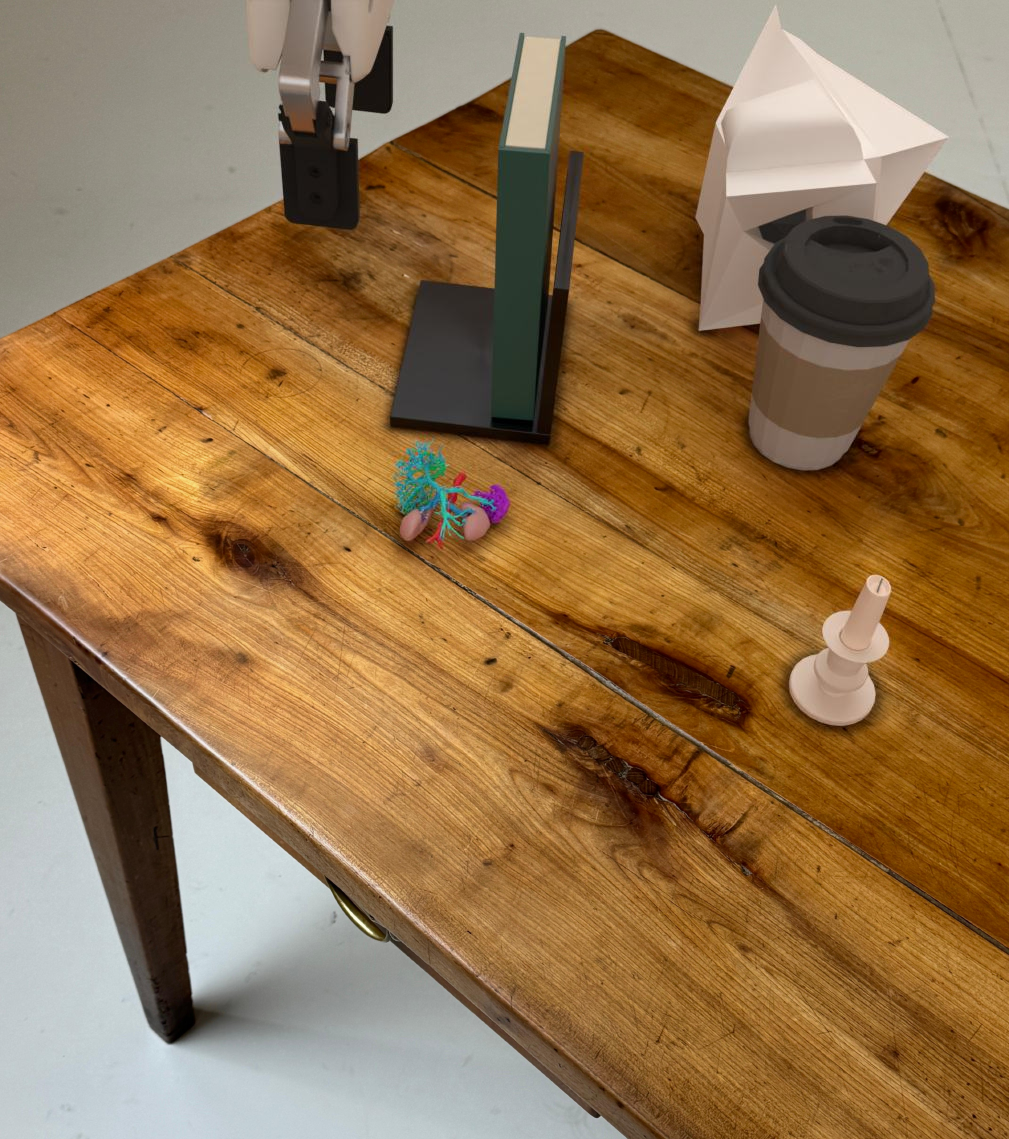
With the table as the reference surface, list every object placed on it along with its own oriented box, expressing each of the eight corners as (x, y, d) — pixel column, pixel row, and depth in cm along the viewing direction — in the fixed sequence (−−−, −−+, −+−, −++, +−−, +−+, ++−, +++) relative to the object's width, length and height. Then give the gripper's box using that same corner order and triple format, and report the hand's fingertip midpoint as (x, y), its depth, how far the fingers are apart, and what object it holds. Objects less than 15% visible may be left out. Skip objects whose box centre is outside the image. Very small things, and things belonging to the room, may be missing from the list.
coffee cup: (863, 390, 96) (929, 211, 84) (888, 497, 89) (963, 318, 77) (713, 380, 95) (757, 198, 84) (725, 487, 88) (776, 305, 77)
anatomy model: (493, 531, 78) (517, 448, 81) (366, 506, 79) (396, 424, 82) (491, 580, 83) (514, 499, 86) (371, 555, 83) (399, 476, 87)
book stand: (389, 427, 90) (388, 268, 80) (420, 290, 100) (423, 133, 89) (549, 445, 90) (569, 289, 79) (564, 306, 100) (584, 151, 89)
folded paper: (757, 141, 84) (996, 159, 87) (682, -27, 98) (889, -6, 102) (690, 351, 97) (900, 360, 100) (632, 176, 112) (817, 189, 115)
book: (498, 149, 74) (550, 153, 73) (519, 32, 82) (566, 35, 82) (490, 417, 89) (533, 420, 89) (509, 295, 98) (548, 298, 98)
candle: (888, 688, 78) (945, 574, 70) (847, 741, 76) (902, 629, 68) (814, 644, 80) (862, 528, 72) (772, 695, 78) (817, 580, 69)
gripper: (271, -365, 51) (297, 61, 64) (157, -207, 40) (217, 264, 54) (459, -344, 51) (446, 78, 64) (395, -180, 40) (395, 284, 54)
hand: (341, 162), depth 59 cm, fingers open, 9 cm apart
